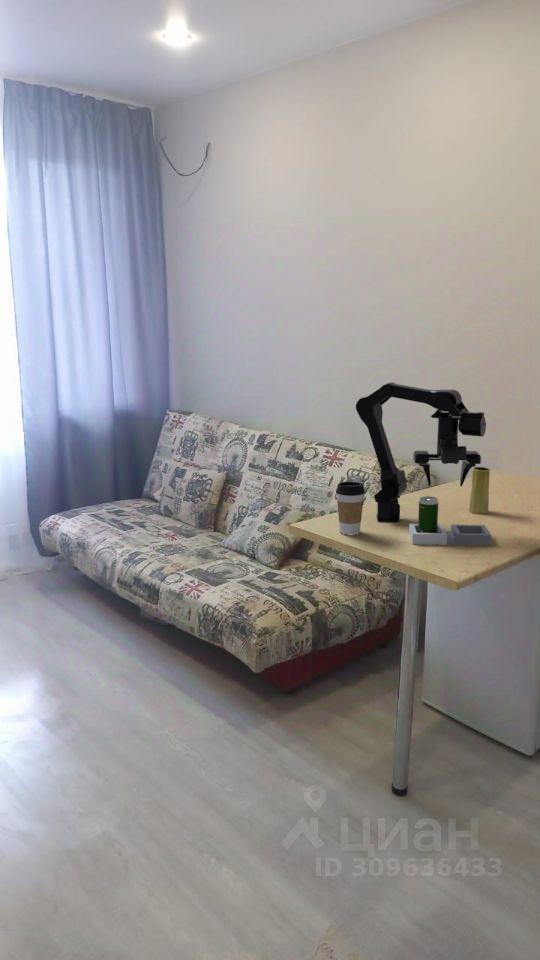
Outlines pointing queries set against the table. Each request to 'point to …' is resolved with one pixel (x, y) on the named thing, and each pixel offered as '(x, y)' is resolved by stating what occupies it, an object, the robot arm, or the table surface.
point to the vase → (480, 490)
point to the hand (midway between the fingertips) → (445, 485)
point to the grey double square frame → (452, 535)
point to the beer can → (428, 515)
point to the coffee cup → (350, 506)
